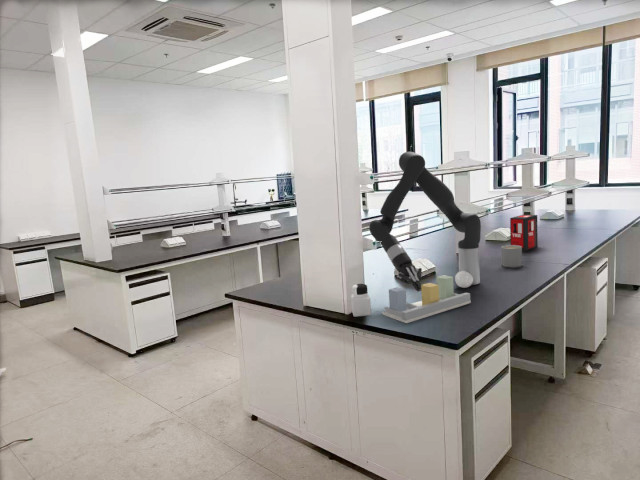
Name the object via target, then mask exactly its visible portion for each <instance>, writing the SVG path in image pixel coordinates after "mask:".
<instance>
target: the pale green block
mask: <svg viewBox="0 0 640 480" xmlns="http://www.w3.org/2000/svg"><path fill="white" fill-rule="evenodd" d="M436 284H437V285H439V298H441V299H446V298H449V297H453V296H454V293H455V292H454V277H453V276H449V275H445V274H443V275H439V276H436Z"/></svg>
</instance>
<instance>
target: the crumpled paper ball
mask: <svg viewBox="0 0 640 480" xmlns="http://www.w3.org/2000/svg"><path fill="white" fill-rule="evenodd" d="M454 281H455V283H456V285H457V286H458V287H460V288H463V289H466V288H467V289H468V288H469V287H470V286H472V285H471V284H472V282H473V277H472V276H471V275H470V274H469V273H468V272H466V271H461V272H459V271H458V272H457V273H456V274H455V276H454Z"/></svg>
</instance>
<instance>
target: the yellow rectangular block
mask: <svg viewBox="0 0 640 480" xmlns="http://www.w3.org/2000/svg"><path fill="white" fill-rule="evenodd" d="M420 292H421V301H422V306H423V305H426V304H429V303H433V302H436V301H439V285H437V283H433V282H432V283H431V282H427V283H424V284H421V291H420Z"/></svg>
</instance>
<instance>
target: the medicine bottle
mask: <svg viewBox="0 0 640 480" xmlns="http://www.w3.org/2000/svg"><path fill="white" fill-rule="evenodd" d="M351 290H352V294H351V295H350V302H351V312H352V315H353V317H355V318H356V317H364V316H365V317H366V316H372V305H371V301H372V300H371V298H370V295H369V294H368V285H367V284H365V283H357V284H354V285H352V289H351Z"/></svg>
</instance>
